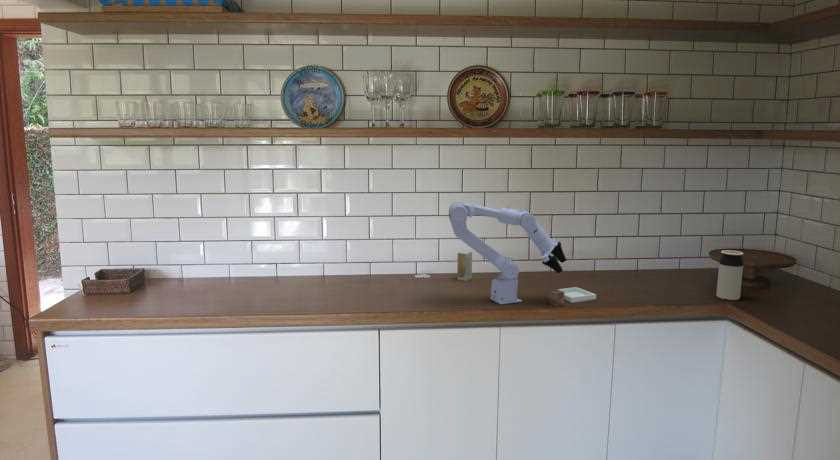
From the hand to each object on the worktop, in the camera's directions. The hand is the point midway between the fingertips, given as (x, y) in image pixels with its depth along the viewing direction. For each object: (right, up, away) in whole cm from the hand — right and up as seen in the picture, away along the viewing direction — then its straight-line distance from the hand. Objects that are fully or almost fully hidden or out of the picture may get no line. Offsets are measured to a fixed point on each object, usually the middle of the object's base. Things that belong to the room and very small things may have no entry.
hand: (562, 266), depth 207 cm
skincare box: (-34, -8, +34) cm, 49 cm away
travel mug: (+66, -13, +7) cm, 67 cm away
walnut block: (-3, -14, -3) cm, 14 cm away
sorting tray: (+6, -12, +6) cm, 15 cm away
